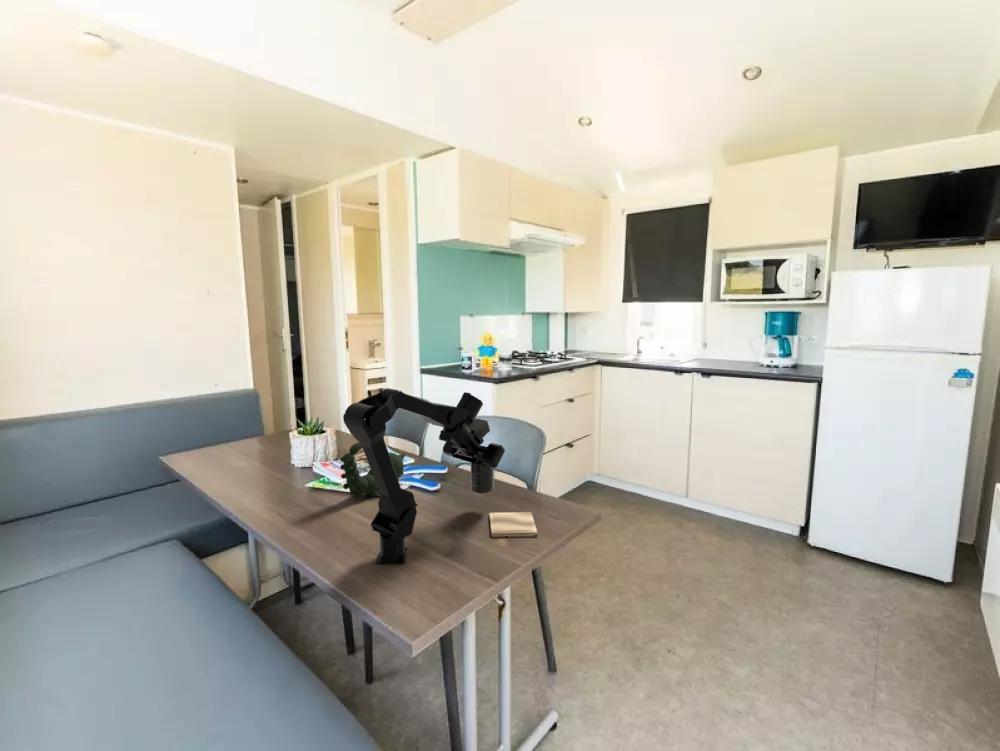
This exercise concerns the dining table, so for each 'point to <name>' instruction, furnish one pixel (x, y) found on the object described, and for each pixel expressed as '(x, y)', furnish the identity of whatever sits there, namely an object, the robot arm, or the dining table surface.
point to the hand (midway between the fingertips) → (485, 464)
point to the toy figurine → (367, 481)
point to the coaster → (512, 524)
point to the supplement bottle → (481, 476)
